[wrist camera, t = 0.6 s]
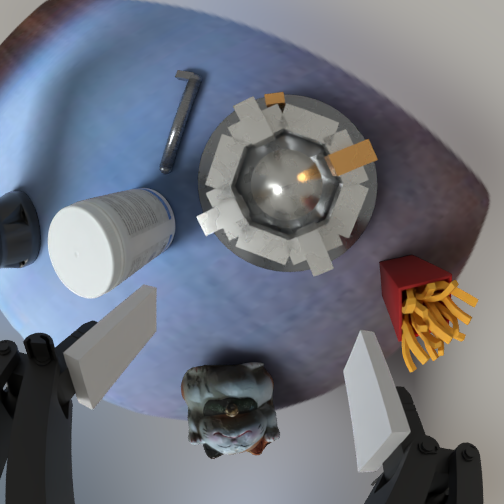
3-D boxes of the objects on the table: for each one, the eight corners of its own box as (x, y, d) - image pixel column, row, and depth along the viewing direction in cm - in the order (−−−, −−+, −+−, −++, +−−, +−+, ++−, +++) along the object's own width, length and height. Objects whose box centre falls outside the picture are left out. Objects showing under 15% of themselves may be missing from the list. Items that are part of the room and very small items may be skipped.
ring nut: (199, 225, 32) (179, 237, 26) (242, 95, 27) (230, 79, 22) (326, 273, 31) (333, 295, 26) (377, 145, 27) (396, 140, 21)
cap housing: (187, 230, 36) (167, 242, 30) (236, 82, 30) (224, 65, 24) (332, 285, 35) (338, 306, 29) (391, 139, 29) (410, 133, 23)
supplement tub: (115, 191, 36) (39, 207, 22) (174, 183, 34) (105, 195, 20) (124, 256, 39) (57, 296, 25) (182, 256, 37) (123, 304, 23)
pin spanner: (171, 175, 34) (166, 175, 33) (150, 168, 34) (144, 168, 33) (204, 77, 30) (200, 73, 29) (181, 73, 30) (177, 69, 29)
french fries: (371, 256, 33) (415, 311, 19) (427, 244, 32) (491, 287, 17) (376, 316, 35) (409, 389, 21) (428, 303, 34) (477, 364, 19)
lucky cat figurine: (285, 359, 39) (297, 449, 29) (265, 387, 47) (273, 458, 37) (181, 355, 36) (178, 451, 26) (182, 384, 44) (181, 458, 34)
